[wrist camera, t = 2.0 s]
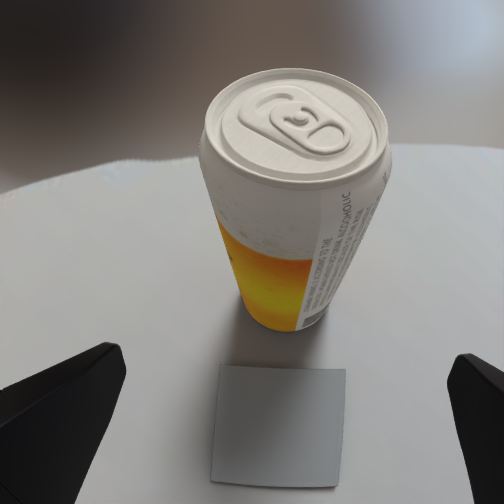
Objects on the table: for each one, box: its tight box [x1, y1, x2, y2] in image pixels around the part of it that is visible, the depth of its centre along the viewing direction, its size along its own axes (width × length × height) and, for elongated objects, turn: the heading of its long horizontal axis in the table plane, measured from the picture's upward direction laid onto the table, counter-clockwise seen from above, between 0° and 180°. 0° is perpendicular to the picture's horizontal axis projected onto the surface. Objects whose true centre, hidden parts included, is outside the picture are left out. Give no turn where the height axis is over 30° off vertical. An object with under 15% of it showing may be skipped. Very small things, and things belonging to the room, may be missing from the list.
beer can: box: [199, 68, 392, 332], centre depth 15 cm, size 6×6×15 cm
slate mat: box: [211, 365, 346, 487], centre depth 17 cm, size 8×8×1 cm
